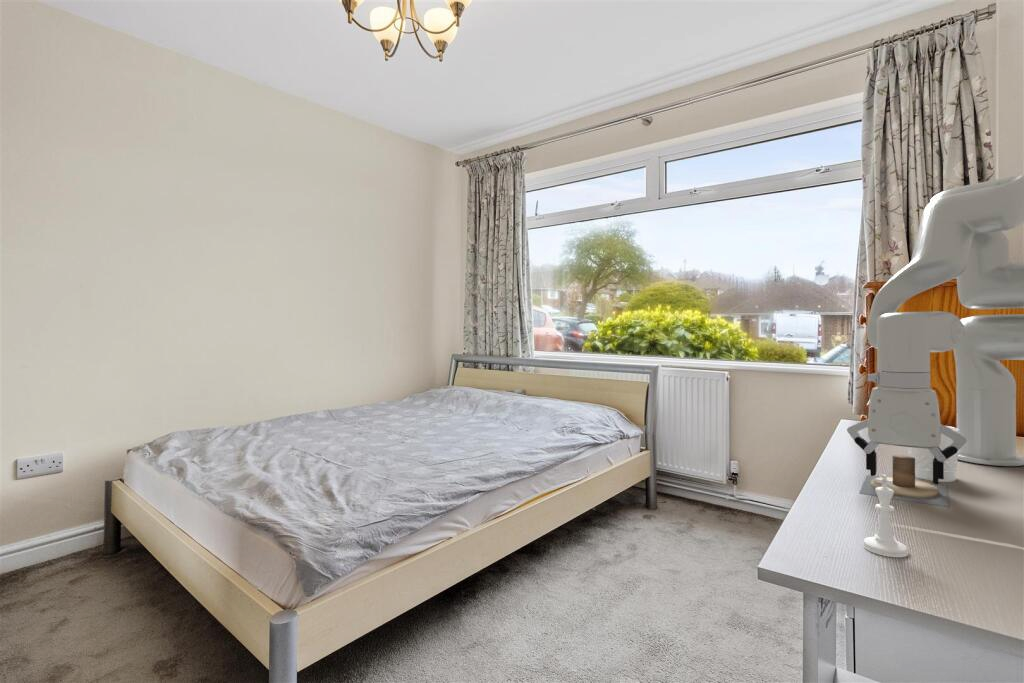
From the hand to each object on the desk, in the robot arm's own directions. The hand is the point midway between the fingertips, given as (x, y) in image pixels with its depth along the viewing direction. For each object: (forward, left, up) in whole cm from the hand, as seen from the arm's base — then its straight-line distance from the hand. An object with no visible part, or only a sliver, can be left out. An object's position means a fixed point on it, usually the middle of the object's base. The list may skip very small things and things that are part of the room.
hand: (903, 477), depth 90 cm
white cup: (-13, +4, -3) cm, 14 cm away
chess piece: (+31, -1, -3) cm, 31 cm away
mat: (0, 0, -2) cm, 2 cm away
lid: (0, 0, -2) cm, 2 cm away
